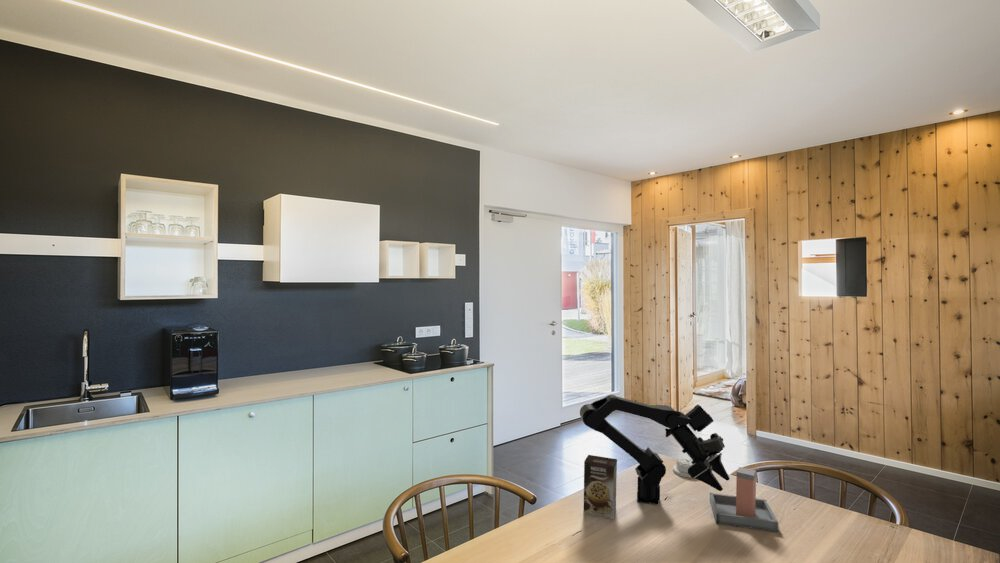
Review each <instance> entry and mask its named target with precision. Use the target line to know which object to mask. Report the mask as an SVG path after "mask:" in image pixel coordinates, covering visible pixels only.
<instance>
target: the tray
mask: <svg viewBox="0 0 1000 563" xmlns="http://www.w3.org/2000/svg"><path fill="white" fill-rule="evenodd" d="M709 504H710V508H711V511H712V513H713V518H714V520H715V523H716V524H717V525H722V526H723V525H724V526H733V527H739V528H747V529H752V530H753V529H754V530H761V531H769V532H775V533H779V521H778V519H777V517H776V515H775V514H774V512H773V510H772V508H771V507H770V505H769V503H768V502H767V499H766V498H765V499H763V498H756V510H755V516H754V518H753V517H745V516H738V515H736V495H730V494H723V493H722V494H721V493H715V492H714V493H712V492H709Z"/></svg>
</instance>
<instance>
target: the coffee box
mask: <svg viewBox="0 0 1000 563" xmlns="http://www.w3.org/2000/svg"><path fill="white" fill-rule="evenodd" d="M583 464H584V466H583V511H582V512H583V515H588V516H592V517H599V518H602V519H603V518H604V519H608V520H611V521H612V520H614V518H615V515H616V512H617V474H618V472H617V470H618V459H617V458H612V457H611V458H610V457H604V456H601V455H599V456H598V455H592V454H588V455H587V456H586V458H585V459H584V463H583Z"/></svg>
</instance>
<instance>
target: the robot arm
mask: <svg viewBox="0 0 1000 563" xmlns="http://www.w3.org/2000/svg"><path fill="white" fill-rule="evenodd" d="M614 411H619V412H623V413H627V414H631V415H636V416H638V417H641V418H646V419H650V420H651V421H653V422H656V423H657V424H659V425H661V426H664V427H665V429H664V431H665V435H664V437H665V438H668V437H669V436H672V437H673V438H674V439H675V441H676V442H677V443H678V444H679V446H680V447H681V448H682V450H681V452H682V453H683V454H687V456H688V457H689V459H692V460H693V461H692V462H691V463H692V465H691V466H690V467H689V468H688V474H689V475H690V476H691V478H690V479H695V480H698V481H700V482H702V483H704V484H707V485H708V486H710V487H711V488H714V489H715V490H717V491H719V492H721V491H723V490H724V489H723V486H722V484H721V483H720V481H719V480H718V479H717V477H716V476H715V474H717V475H718V476H719V477H721V478H722V479H724V480H726V481H727V482H728V481H729V480H730V476H729V473H728V472H727V471H726V468H725V466H724V464H723V462H722V455H723V453H722V451H723V450H724V449H725V448H726V447H725V443H724V438H723V437H722V436H721V435H719V434H718V433H717V432H714V433H711V434H710V437H709V438H707V439H703V437H700V436H696V434H695V433H694V432H696V431H697V432H698V433H699V432H702V431H703V430H705V429H706V428H707V427H708V426H710V425H711V424H712V423H714V422H715V421H714V419H713V418H712V416H711V415H710V414H709V413H708V412H707V411H706V410H705V409H704V408H703V407H702V406H701V405H700V404H696V405H695V406H694V407H693V408H692V409H691V410H689V411H688V412H686V413H684V412H682V411H678V410H675V409H674V408H673V407H671V406H670V405H665V404H664V405H663V404H647V403H644V402H640V401H639V402H638V401H636V400H631V399H628V398H624V397H621V396H617V395H615V394H609V395H606V397H603V398H600V399H598V400H595V401H593V402H591V403H587V404H584V405H583V406H581V407H580V410H579V416H580V418H581V420H582V423H583V424H584V425H585V426H586V427H588V428H590V429H591V430H593V431H596V432H598V433H601V434H603V435H604V436H605V437H606V438H608V439H609V440H610V441H611V442H613V444H615V445H616V446H618V447H619V448H620V449H622V451H624V452H625V453H626V454H627V455H629V456H630V457H632V458H633V459H634V460H635V461H637V463H638V464H637V466H636V467H634V468H635V472H636V475H637V492H636V502H637V503H644V504H652V505H659V501H660V500H661V486H660V484H661V481H662V479H663V477H665V475H666V473H667V469H666V466H665V464H664V460H662V459H663V458H661V457H660V455H659V454H658V453H656V452H655V451H653V450H651V448H650V447H649V446H647V448H646V449H643V448H641V447H640V446H639V445H637V444H636V443H635V442H633V441H632V440H631V439H630V438H628V436H626V435H625V434H623V433H622V432H621V431H620V430H619V429H618V428H616V427H615V426H614V425H612V424H611V423H610V422H608V421H607V419H606V418H608V416H610V414H612V413H613V412H614ZM691 429H692V430H691ZM714 473H715V474H714ZM695 476H696V477H695ZM694 477H695V478H694Z"/></svg>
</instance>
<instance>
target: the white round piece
mask: <svg viewBox="0 0 1000 563" xmlns="http://www.w3.org/2000/svg"><path fill="white" fill-rule="evenodd" d="M692 461H693V460H692V459H691V458H690V457H689V458H688V457H681V458H677V460H676V464H674V465H673V466H672V472H673V473H674V474H676V475H677V476H680V477H683V478H689V479H692V478H691V476H690V475H689V474H688V468H689V467H690V466H691V465H692V463H691V462H692ZM695 477H696V476H695ZM695 477H694V478H693V479H695Z"/></svg>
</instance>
